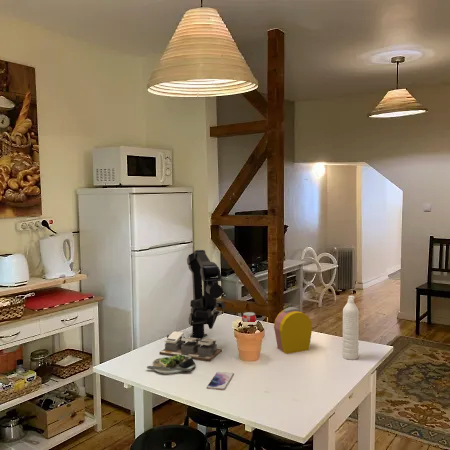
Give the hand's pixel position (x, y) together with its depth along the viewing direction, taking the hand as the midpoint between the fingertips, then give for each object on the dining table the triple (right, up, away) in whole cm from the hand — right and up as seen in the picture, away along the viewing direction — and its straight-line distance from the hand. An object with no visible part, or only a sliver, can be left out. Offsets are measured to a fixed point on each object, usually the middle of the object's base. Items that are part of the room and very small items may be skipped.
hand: (210, 328), depth 203 cm
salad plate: (-14, -13, -14) cm, 24 cm away
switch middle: (-9, -5, 0) cm, 10 cm away
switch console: (-9, -11, +1) cm, 14 cm away
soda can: (+18, -9, +19) cm, 28 cm away
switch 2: (-1, -5, -3) cm, 6 cm away
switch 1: (-16, -5, +4) cm, 17 cm away
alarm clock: (+36, -10, +4) cm, 38 cm away
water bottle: (+59, -11, -6) cm, 60 cm away
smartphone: (+5, -14, -29) cm, 32 cm away
